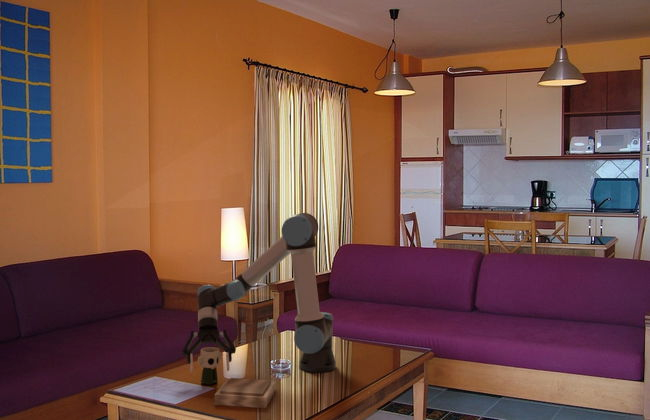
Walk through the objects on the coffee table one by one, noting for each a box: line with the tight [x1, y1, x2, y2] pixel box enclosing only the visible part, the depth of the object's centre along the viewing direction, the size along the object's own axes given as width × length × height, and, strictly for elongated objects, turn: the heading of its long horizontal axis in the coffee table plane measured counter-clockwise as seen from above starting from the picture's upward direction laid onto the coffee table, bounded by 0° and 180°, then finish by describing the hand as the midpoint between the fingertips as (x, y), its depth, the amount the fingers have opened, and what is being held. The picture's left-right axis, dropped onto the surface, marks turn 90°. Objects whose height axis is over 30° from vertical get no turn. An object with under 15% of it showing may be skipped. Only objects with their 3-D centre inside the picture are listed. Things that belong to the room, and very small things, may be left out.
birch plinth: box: [214, 377, 276, 409], centre depth 240 cm, size 18×18×4 cm
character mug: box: [197, 346, 223, 385], centre depth 254 cm, size 11×7×13 cm, turn 137°
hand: (210, 370), depth 252 cm, fingers open, 13 cm apart
